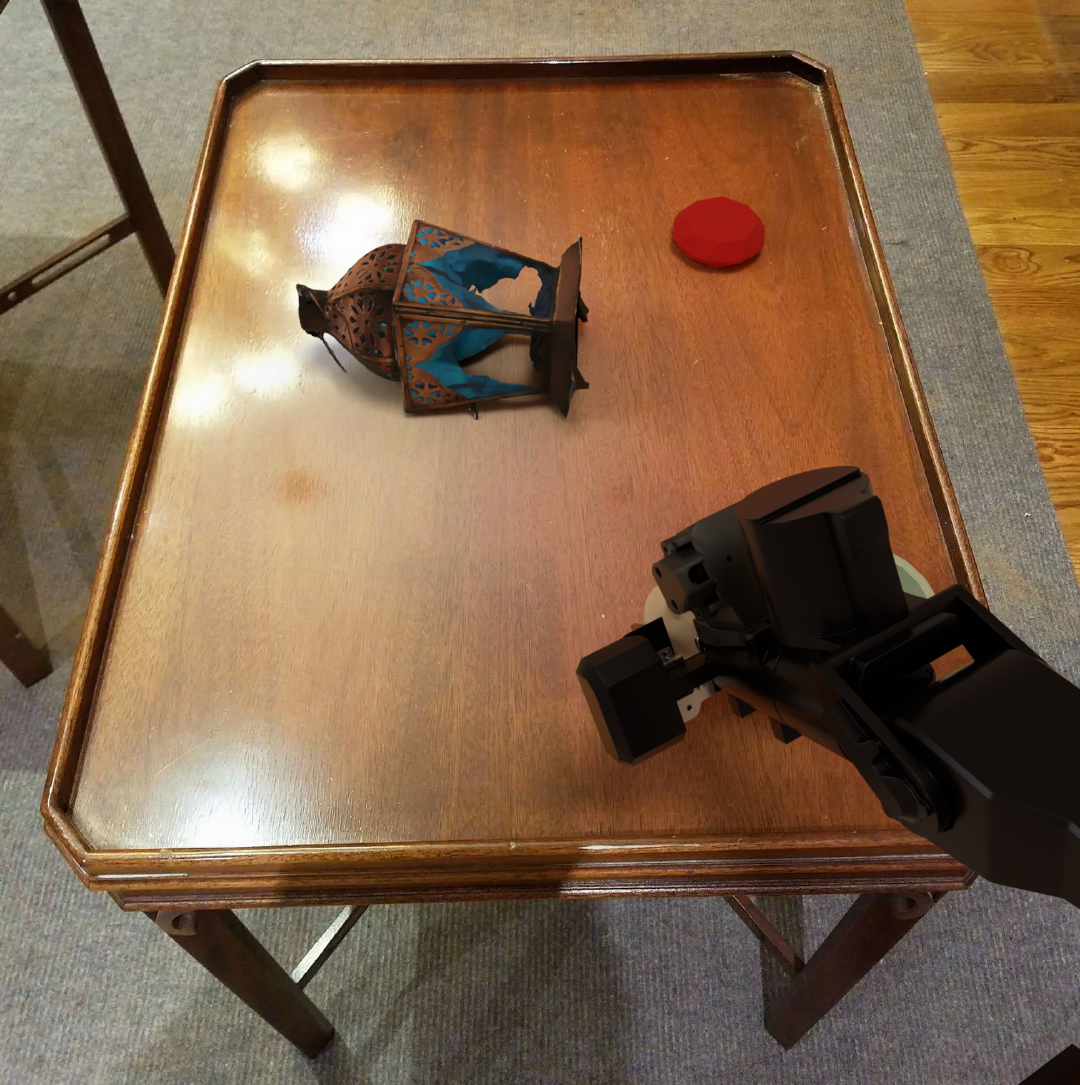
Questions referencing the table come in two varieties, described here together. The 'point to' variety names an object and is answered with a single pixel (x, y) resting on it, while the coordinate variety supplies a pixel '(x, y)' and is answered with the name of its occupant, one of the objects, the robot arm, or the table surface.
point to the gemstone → (718, 232)
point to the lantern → (449, 318)
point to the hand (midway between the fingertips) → (673, 611)
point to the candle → (672, 623)
